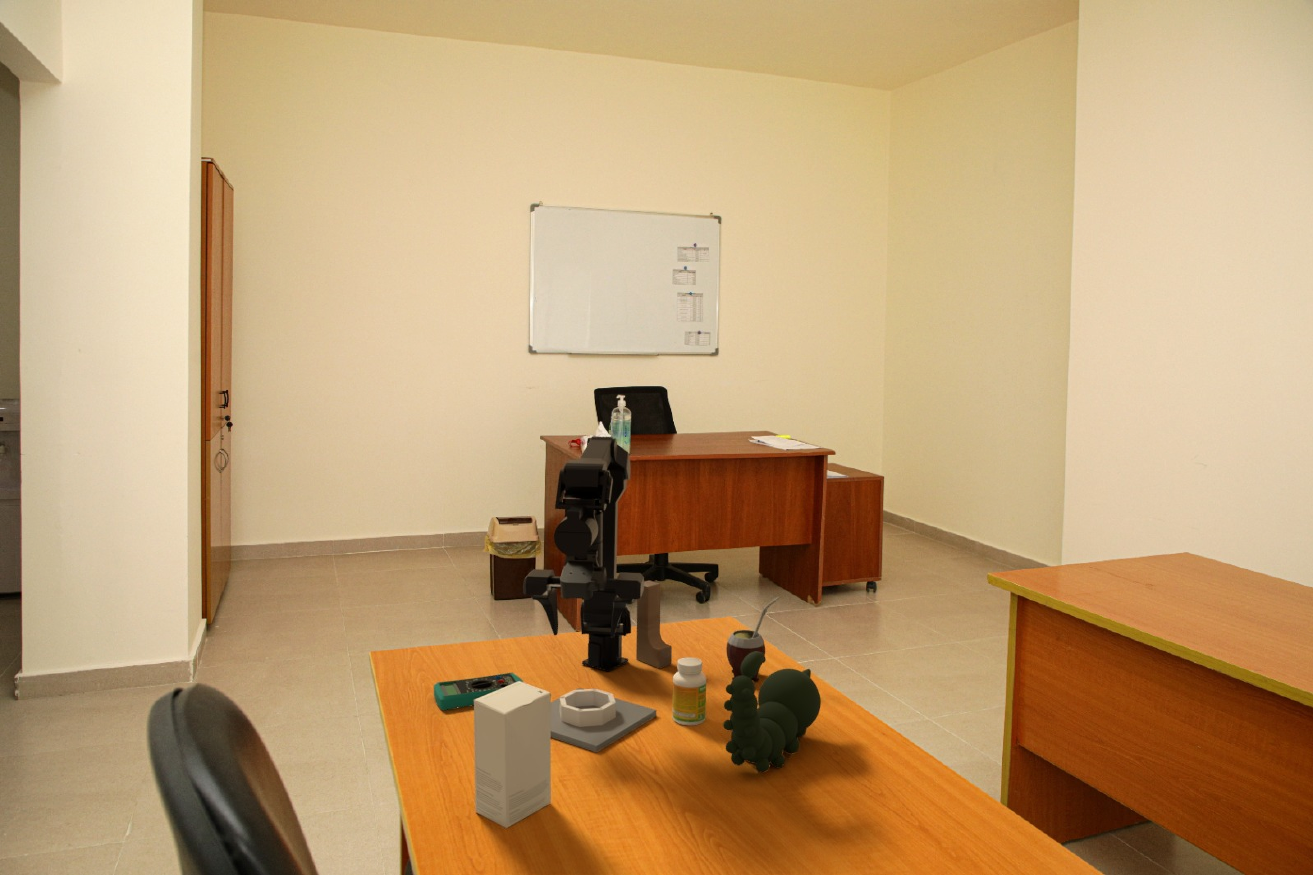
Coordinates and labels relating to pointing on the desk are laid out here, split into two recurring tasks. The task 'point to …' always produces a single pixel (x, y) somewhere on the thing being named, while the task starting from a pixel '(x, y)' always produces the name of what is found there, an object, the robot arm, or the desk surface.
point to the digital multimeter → (470, 689)
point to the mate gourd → (745, 645)
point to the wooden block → (651, 628)
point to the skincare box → (512, 753)
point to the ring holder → (594, 718)
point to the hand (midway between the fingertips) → (584, 635)
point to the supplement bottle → (689, 692)
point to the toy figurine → (769, 713)
